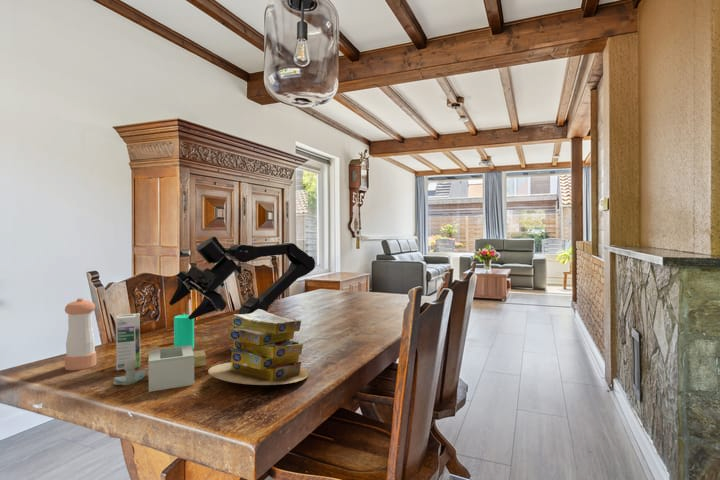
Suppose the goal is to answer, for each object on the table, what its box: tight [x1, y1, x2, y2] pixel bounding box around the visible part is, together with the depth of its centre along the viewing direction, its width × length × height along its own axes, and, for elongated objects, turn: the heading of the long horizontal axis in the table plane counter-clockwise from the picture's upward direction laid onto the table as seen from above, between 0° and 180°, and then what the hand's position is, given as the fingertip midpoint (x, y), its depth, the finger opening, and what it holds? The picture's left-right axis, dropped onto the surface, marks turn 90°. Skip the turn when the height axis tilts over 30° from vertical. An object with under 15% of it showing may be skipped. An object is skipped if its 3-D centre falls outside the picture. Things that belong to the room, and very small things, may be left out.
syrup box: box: [115, 312, 141, 371], centre depth 112 cm, size 6×6×14 cm
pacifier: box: [112, 359, 147, 386], centre depth 100 cm, size 7×6×6 cm
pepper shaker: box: [64, 297, 97, 371], centre depth 112 cm, size 7×7×19 cm
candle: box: [173, 313, 195, 350], centre depth 130 cm, size 6×6×12 cm
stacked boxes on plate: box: [207, 309, 309, 386], centre depth 103 cm, size 25×25×17 cm
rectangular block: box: [193, 349, 207, 368], centre depth 115 cm, size 3×6×3 cm, turn 27°
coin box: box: [147, 345, 195, 393], centre depth 101 cm, size 10×10×7 cm
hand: (179, 311), depth 118 cm, fingers open, 9 cm apart
